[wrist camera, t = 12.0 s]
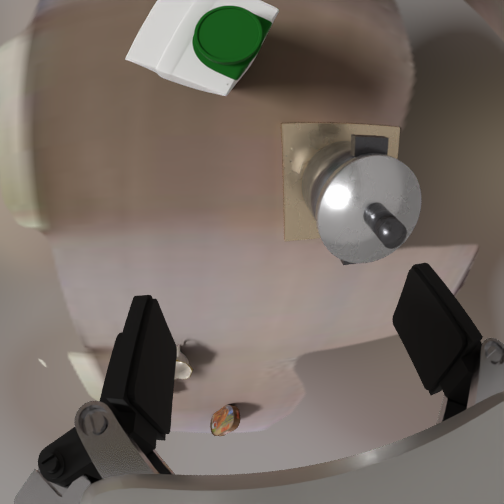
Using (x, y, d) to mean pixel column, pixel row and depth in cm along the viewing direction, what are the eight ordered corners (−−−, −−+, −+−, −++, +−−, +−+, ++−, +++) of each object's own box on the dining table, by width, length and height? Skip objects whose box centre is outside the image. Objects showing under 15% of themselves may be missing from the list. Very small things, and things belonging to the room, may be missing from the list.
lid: (316, 153, 27) (338, 171, 22) (423, 155, 27) (455, 173, 22) (312, 263, 35) (326, 297, 29) (404, 252, 35) (426, 279, 30)
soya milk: (229, 98, 31) (229, 110, 15) (165, 72, 28) (99, 63, 12) (261, 43, 27) (299, -2, 11) (197, 16, 24) (166, -48, 8)
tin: (232, 400, 74) (233, 425, 67) (241, 402, 75) (243, 427, 68) (209, 416, 80) (209, 438, 73) (217, 417, 81) (218, 439, 74)
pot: (280, 123, 34) (298, 135, 26) (397, 126, 34) (437, 142, 26) (284, 238, 44) (297, 278, 36) (384, 229, 44) (412, 262, 36)
